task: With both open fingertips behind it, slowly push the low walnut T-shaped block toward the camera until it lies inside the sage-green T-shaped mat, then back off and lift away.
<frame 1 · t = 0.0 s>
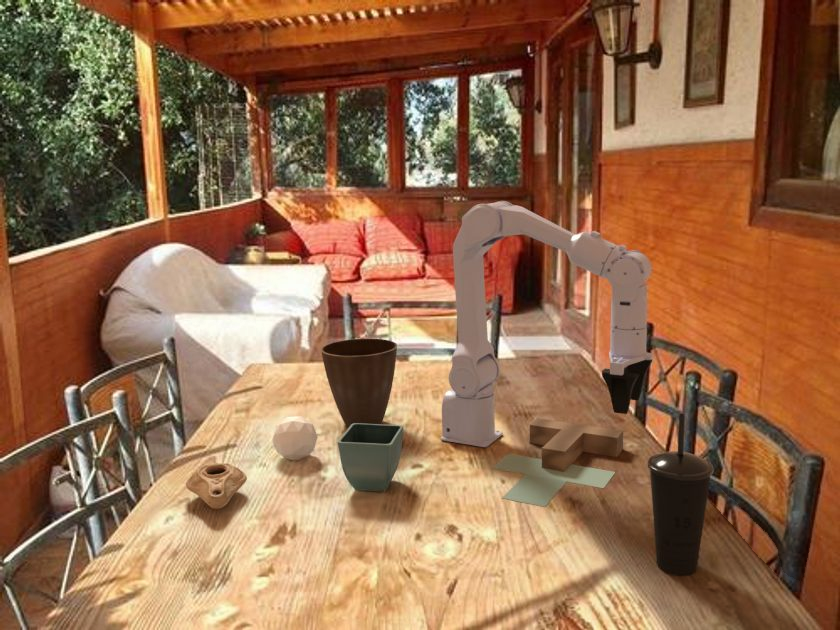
hand: (626, 405, 125), 10 cm above the table, fingers open, 7 cm apart
t block: (570, 451, 133), on the table, touching t mat
plant pot: (363, 424, 151), on the table
geometric ball: (296, 458, 134), on the table
flower pot: (373, 486, 121), on the table
t mat: (568, 453, 132), on the table
drinking cup: (676, 567, 95), on the table
pottery oil lamp: (215, 504, 117), on the table
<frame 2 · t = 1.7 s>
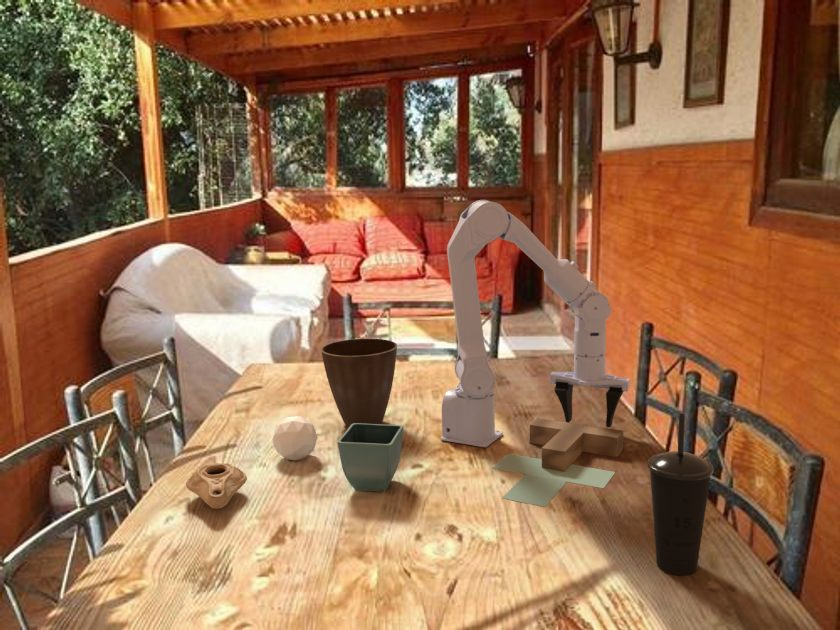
hand: (588, 423, 142), 2 cm above the table, fingers open, 7 cm apart
nothing on the table moved.
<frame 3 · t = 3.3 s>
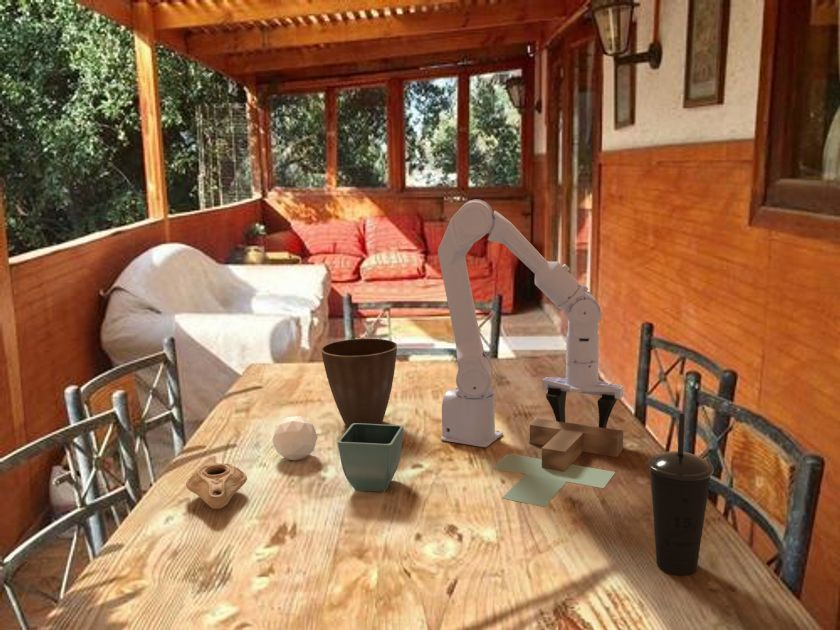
hand: (581, 430, 138), 2 cm above the table, fingers open, 7 cm apart
t block: (570, 451, 133), on the table, touching gripper, t mat
everything else where it was.
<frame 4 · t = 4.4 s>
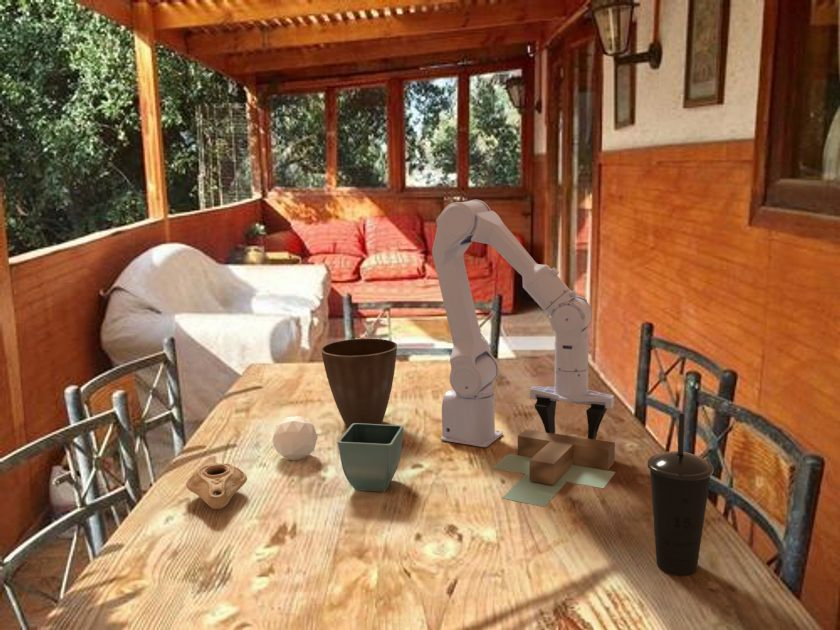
hand: (571, 441, 132), 2 cm above the table, fingers closed on t block, 7 cm apart
t block: (559, 464, 127), on the table, touching gripper
everything else where it was.
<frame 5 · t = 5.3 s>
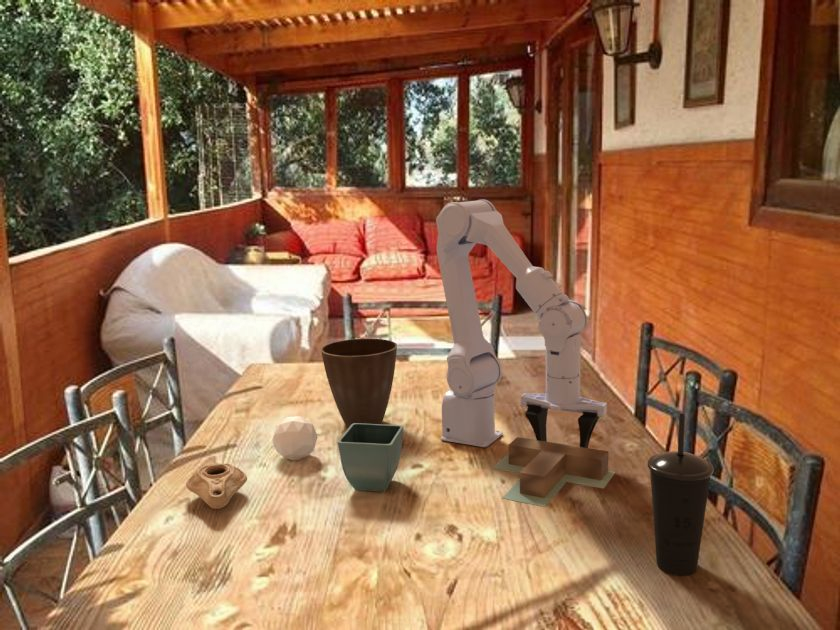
hand: (562, 450, 129), 2 cm above the table, fingers closed on t block, 7 cm apart
t block: (551, 474, 123), on the table, touching gripper, t mat
everything else where it was.
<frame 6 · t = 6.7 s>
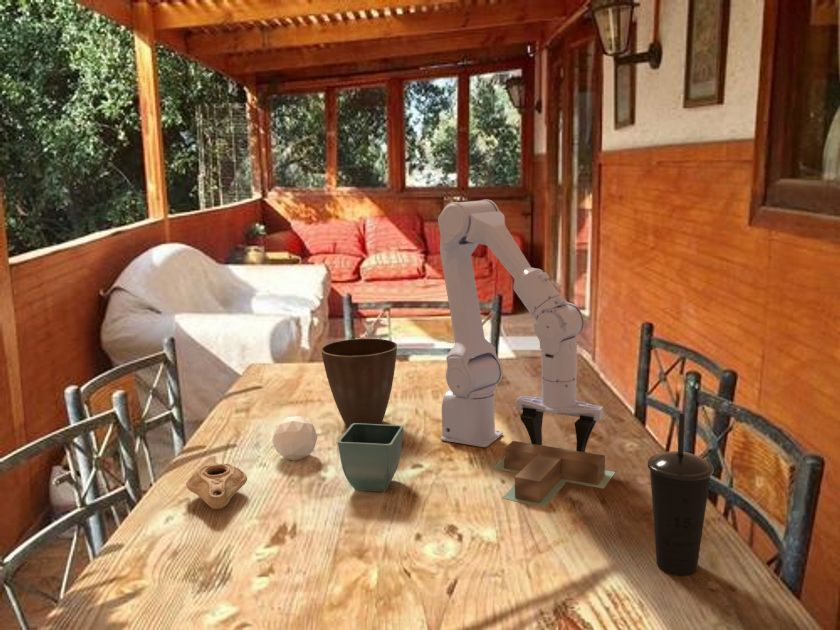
hand: (558, 454, 127), 2 cm above the table
t block: (547, 478, 122), on the table, touching gripper, t mat
everything else where it was.
when the fingers open (2 cm above the table, at t = 6.7 s): t block stays where it is, resting on t mat.
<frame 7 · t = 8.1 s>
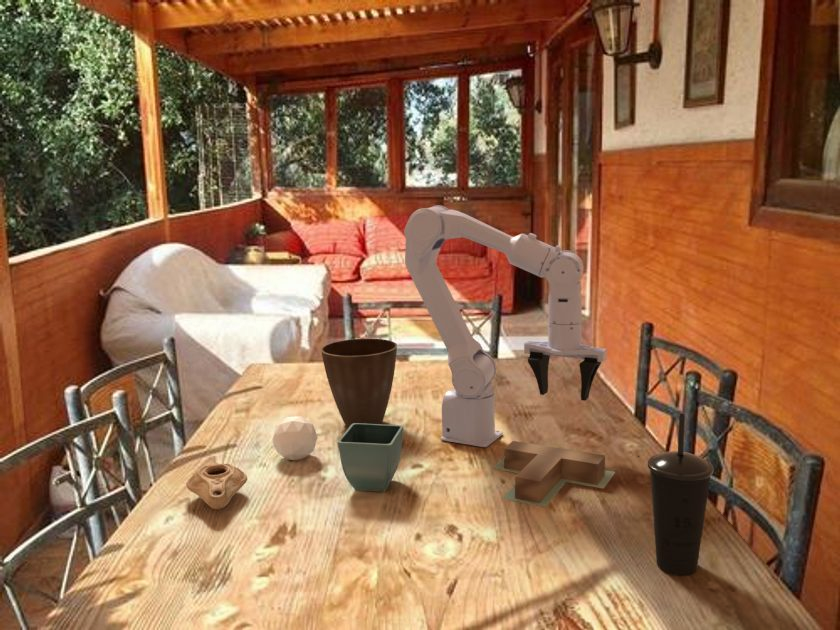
hand: (564, 396, 134), 9 cm above the table, fingers open, 7 cm apart
t block: (547, 478, 122), resting on t mat
everything else where it was.
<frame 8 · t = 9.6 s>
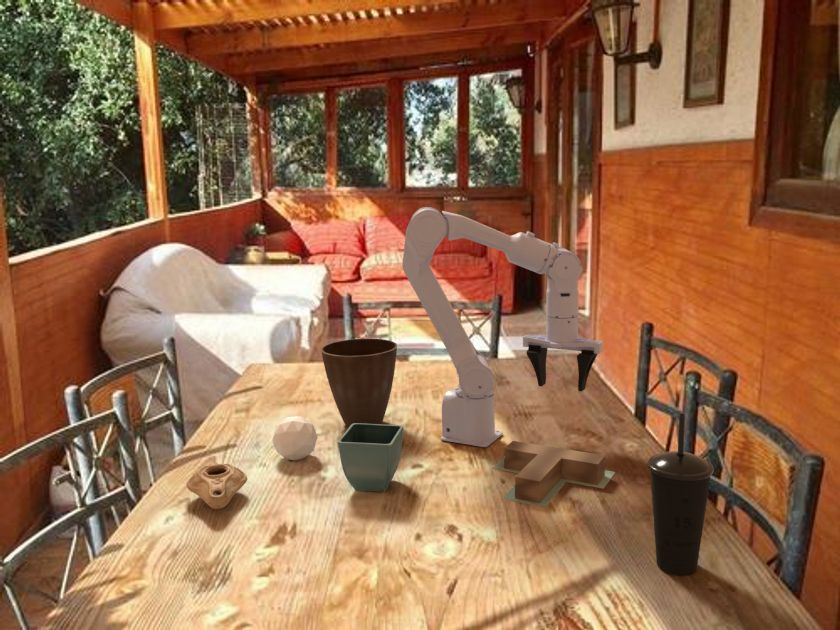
hand: (561, 387, 139), 9 cm above the table, fingers open, 7 cm apart
nothing on the table moved.
at the end: t block 0.6 cm from the target spot, on the table; t block tilted 0°; t block moved 12.8 cm from its start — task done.
